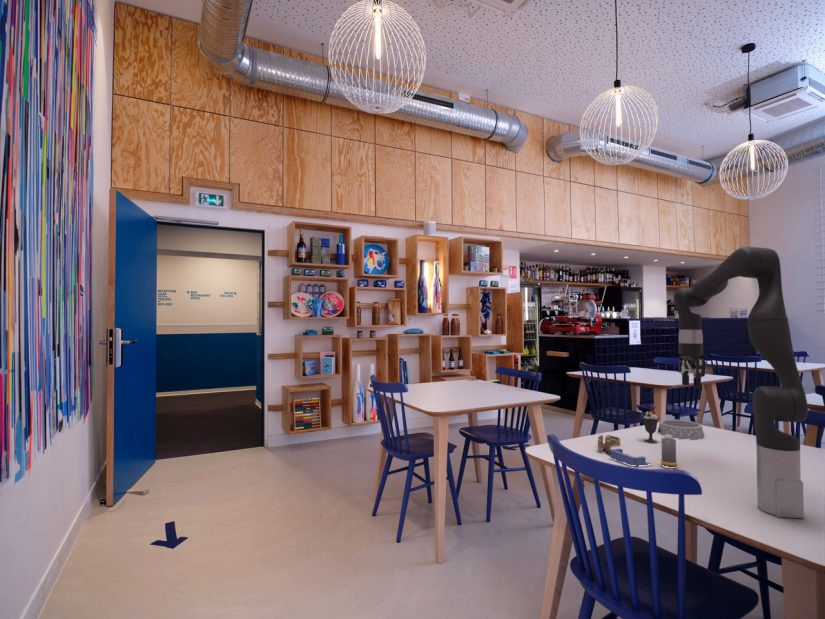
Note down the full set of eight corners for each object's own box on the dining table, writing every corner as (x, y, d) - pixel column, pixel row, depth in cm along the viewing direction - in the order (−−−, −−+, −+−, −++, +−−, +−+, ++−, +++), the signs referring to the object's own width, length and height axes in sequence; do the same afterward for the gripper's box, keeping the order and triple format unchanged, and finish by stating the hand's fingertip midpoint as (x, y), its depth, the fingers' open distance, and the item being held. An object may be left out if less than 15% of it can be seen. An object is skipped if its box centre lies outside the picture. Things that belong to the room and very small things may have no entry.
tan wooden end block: (609, 442, 188) (609, 434, 188) (620, 445, 185) (620, 436, 185) (605, 444, 186) (604, 436, 186) (615, 446, 182) (615, 438, 182)
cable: (611, 454, 170) (611, 451, 170) (601, 453, 172) (601, 450, 172) (613, 444, 185) (613, 441, 185) (603, 443, 186) (603, 440, 186)
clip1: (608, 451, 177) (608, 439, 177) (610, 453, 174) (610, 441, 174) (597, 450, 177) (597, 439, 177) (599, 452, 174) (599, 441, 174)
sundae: (662, 444, 186) (661, 407, 186) (644, 443, 187) (644, 407, 187) (657, 440, 192) (656, 404, 192) (640, 439, 194) (639, 404, 194)
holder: (625, 456, 170) (625, 447, 170) (651, 465, 159) (651, 456, 159) (609, 458, 167) (609, 449, 167) (634, 468, 156) (634, 458, 156)
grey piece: (680, 469, 155) (679, 437, 155) (664, 469, 155) (664, 436, 156) (673, 464, 160) (672, 433, 160) (658, 464, 160) (657, 433, 161)
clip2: (611, 447, 181) (610, 436, 181) (608, 449, 179) (608, 438, 179) (600, 446, 184) (600, 435, 184) (598, 447, 181) (598, 436, 181)
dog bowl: (665, 439, 194) (665, 426, 195) (653, 429, 212) (653, 417, 212) (710, 441, 190) (710, 429, 191) (694, 431, 208) (694, 419, 208)
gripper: (712, 343, 158) (712, 389, 157) (691, 341, 172) (692, 384, 171) (689, 342, 158) (690, 389, 158) (670, 341, 173) (671, 383, 172)
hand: (691, 386), depth 165 cm, fingers open, 8 cm apart
